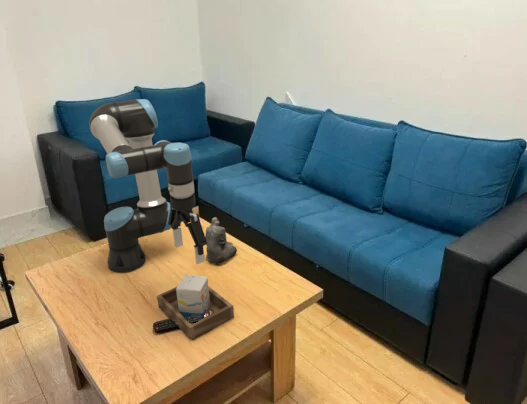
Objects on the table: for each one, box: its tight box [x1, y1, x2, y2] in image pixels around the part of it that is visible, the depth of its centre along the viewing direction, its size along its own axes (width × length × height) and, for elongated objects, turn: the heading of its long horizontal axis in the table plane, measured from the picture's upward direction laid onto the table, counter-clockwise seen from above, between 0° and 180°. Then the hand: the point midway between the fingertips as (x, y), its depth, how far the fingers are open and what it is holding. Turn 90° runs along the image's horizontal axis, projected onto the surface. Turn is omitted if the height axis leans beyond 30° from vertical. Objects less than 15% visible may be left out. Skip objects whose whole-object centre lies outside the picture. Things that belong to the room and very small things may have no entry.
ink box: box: [176, 274, 210, 318], centre depth 146 cm, size 9×8×12 cm
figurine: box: [204, 216, 238, 265], centre depth 176 cm, size 13×12×18 cm
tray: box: [156, 285, 235, 342], centre depth 147 cm, size 22×16×5 cm
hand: (189, 253), depth 141 cm, fingers open, 13 cm apart
